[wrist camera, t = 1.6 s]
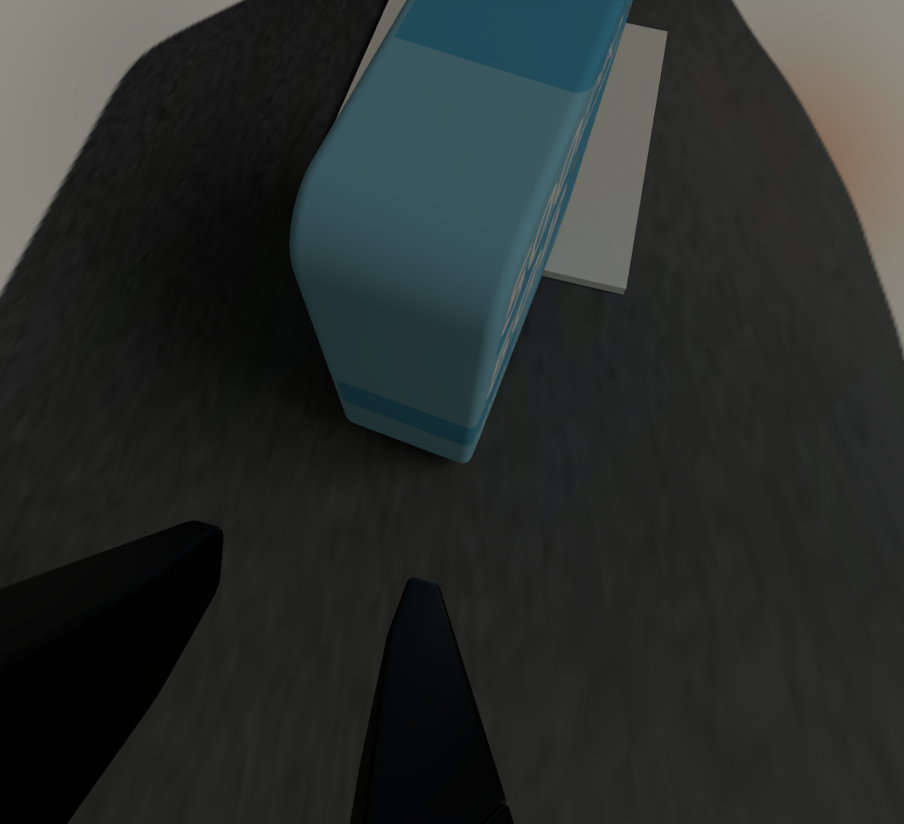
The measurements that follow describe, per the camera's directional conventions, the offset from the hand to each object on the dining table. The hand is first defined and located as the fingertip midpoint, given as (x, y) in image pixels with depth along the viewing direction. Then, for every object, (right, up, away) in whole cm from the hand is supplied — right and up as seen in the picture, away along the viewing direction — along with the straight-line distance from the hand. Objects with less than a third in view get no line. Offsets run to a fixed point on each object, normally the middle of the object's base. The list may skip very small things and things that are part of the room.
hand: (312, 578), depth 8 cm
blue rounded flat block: (+2, +6, +16) cm, 17 cm away
